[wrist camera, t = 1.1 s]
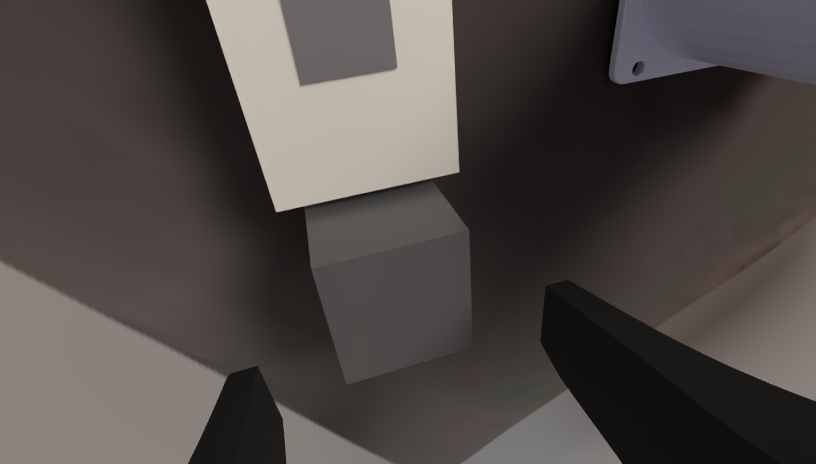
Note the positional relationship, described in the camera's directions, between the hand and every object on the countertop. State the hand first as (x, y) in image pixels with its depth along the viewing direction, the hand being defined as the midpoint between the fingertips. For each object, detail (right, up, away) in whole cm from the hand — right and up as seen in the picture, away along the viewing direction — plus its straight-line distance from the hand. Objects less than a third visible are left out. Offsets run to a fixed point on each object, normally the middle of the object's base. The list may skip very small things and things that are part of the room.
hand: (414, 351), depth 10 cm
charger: (-2, +4, +6) cm, 7 cm away
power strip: (-3, +14, 0) cm, 14 cm away
